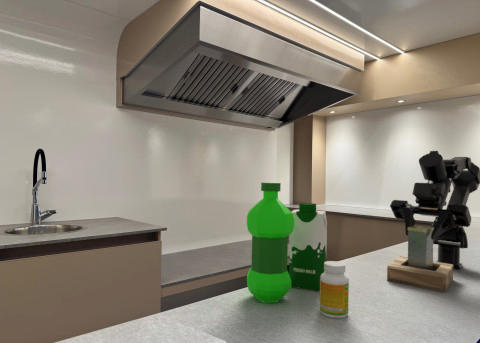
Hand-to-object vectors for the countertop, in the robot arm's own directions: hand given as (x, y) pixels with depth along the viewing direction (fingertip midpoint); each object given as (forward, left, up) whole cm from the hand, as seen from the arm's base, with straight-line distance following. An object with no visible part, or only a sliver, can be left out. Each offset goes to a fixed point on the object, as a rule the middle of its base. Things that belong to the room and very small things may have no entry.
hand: (419, 236), depth 87 cm
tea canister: (-1, 0, -11) cm, 11 cm away
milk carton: (+22, -20, -12) cm, 32 cm away
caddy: (-1, 0, -12) cm, 12 cm away
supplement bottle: (+34, -8, -12) cm, 37 cm away
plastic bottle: (+36, -22, -12) cm, 44 cm away
